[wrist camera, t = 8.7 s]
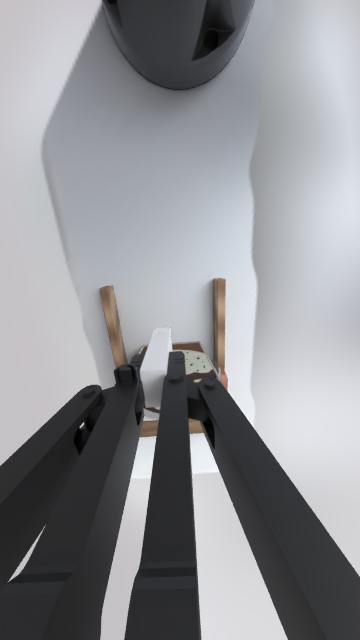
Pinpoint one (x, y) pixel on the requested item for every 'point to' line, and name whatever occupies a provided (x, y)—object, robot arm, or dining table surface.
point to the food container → (188, 367)
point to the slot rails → (119, 353)
